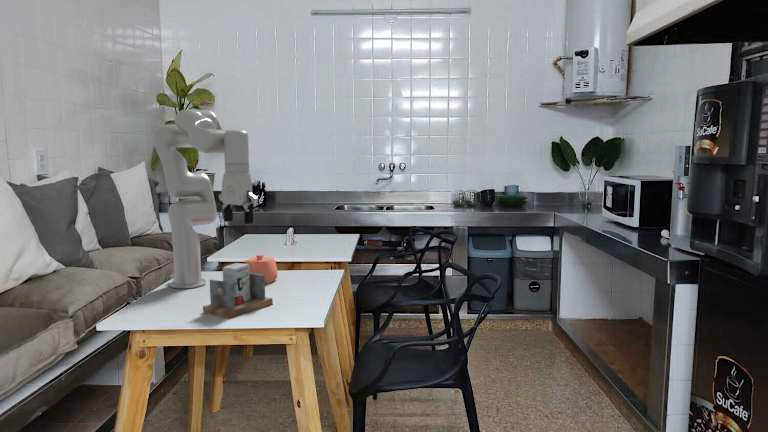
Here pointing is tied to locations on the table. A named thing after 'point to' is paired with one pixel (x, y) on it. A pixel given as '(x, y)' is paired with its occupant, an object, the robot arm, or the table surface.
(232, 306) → the wooden stand
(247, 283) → the ink box
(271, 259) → the teapot
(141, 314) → the table surface
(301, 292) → the table surface
